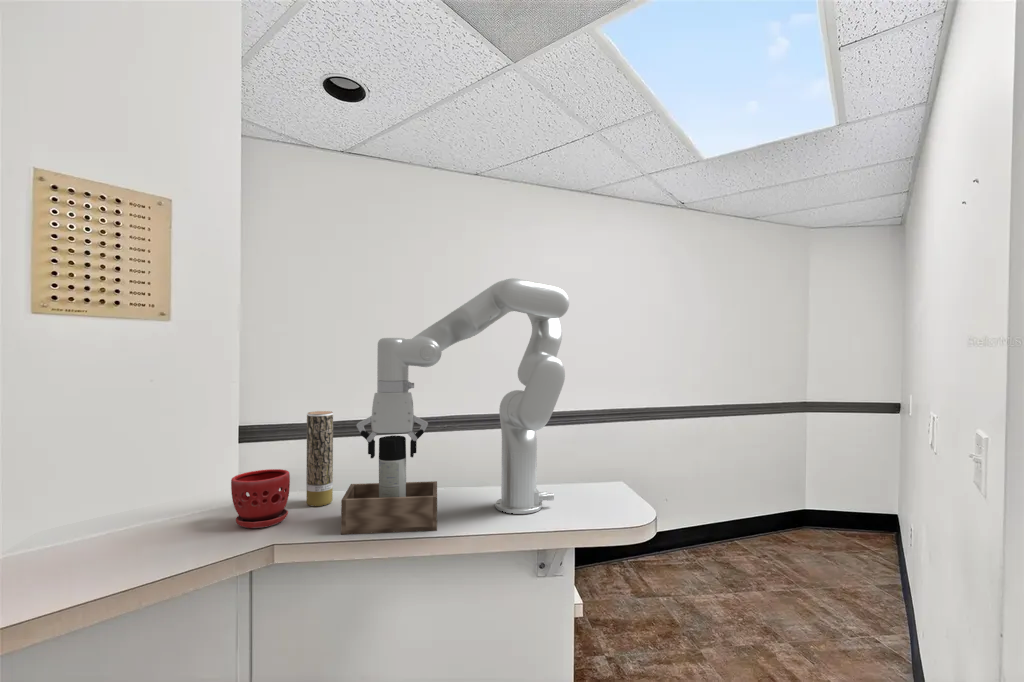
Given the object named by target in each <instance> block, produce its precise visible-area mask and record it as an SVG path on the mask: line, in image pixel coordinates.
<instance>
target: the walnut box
mask: <svg viewBox="0 0 1024 682" xmlns="http://www.w3.org/2000/svg"><path fill="white" fill-rule="evenodd" d="M340 504H341V505H340V506H341V509H340V511H341V512H340V515H341V516H340V517H341V518H340V521H341V522H340V535H346V536H347V535H361V534H362V535H363V534H364V535H365V534H385V533H386V534H387V533H389V534H390V533H406V532H407V533H412V532H435V531H438V481H436V480H433V481H406V497H384V498H379V482H373V483H372V482H370V483H367V482H366V483H351V484H349V486H348V488H347V490H346V492H345V494H344V495H343V497H342V498H341V502H340Z"/></svg>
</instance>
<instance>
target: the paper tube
mask: <svg viewBox="0 0 1024 682" xmlns="http://www.w3.org/2000/svg"><path fill="white" fill-rule="evenodd" d="M333 463H334V412H333V411H331V410H327V411H326V410H317V411H310V412H307V413H306V487H305V488H306V504H307V506H310V507H323V505H324V506H328V505H330V504H331V503H332V502H333V499H334V498H333V496H334V495H333V491H334V490H333V489H334V488H333V487H334V486H333V485H334V483H333V482H334V480H333V478H334V477H333V475H334V473H333V472H334V471H333V470H334V468H333V466H334V464H333ZM327 504H328V505H327Z"/></svg>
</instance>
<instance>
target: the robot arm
mask: <svg viewBox="0 0 1024 682" xmlns="http://www.w3.org/2000/svg"><path fill="white" fill-rule="evenodd" d="M569 307H570V299H569V296H568V294H567V293H566V291H565V290H564V289H562V288H560V287H558V286H556V285H550V284H546V283H540V282H536V281H530V280H526V279H521V278H515V277H514V278H513V277H511V278H508V279H507V278H506V279H504V280H500V281H497V282H495V283H493V284H491V285H490V286H489V287H487V288H486V289H484V290H483V291H481V292H480V293H478V294H477V295H475V296H473V298H470V299H469V300H468V301H467V302H465V303H464V304H462V305H461V306H459V307H458V308H456V309H454V310H453V311H450V312H449V313H448V314H447V315H446V316H444V317H442V318H441V319H440V320H438V321H436V322H435V323H433V324H431V325H430V326H428V327H427V328H425V329H424V330H422V331H420V332H419V333H418V334H416V335H414V336H413V337H412V338H403V337H382V338H380V339H379V340H378V342H377V353H376V354H377V358H376V359H377V360H376V361H377V367H376V368H377V373H376V374H377V375H376V376H377V382H376V385H377V387H376V388H377V389H376V392H375V393H374V395H373V399H372V407H371V416H368V417H367V418H365V419H363V420H361V421H359V422H358V423H356V428H357V430H358V431H359V434H360V435H361V436H362V437H363V438H364V440H365V441H366V442H367V455H370V459H374V458H375V456H376V440H375V437H377V435H402V434H407V435H408V436H409V437H410V438H411V439H410V447H409V448H410V451H409V453H410V454H409V455H410V458H414V454H417V441H418V439H420V437H422V436H423V435H424V433H425V431H426V429H427V427H428V426H429V422H428V421H426V420H424V419H422V418H420V417H418V416H416V415H414V413H415V412H414V401H413V400H414V399H413V396H412V395H413V394H412V392H409V390H411V389H414V388H415V382H410V381H409V366H411V367H419V368H430V367H433V366H435V365H436V364H437V363H438V362H439V361H440V360H441V358H442V353H443V351H445V350H446V349H448V348H449V347H451V346H453V345H455V344H457V343H459V342H461V341H465V340H468V339H471V338H473V337H475V336H477V335H478V334H481V332H483V331H484V330H486V329H488V327H491V325H492V324H494V323H496V321H498V320H500V319H501V318H503V317H505V316H506V315H507V314H509V313H511V312H516V313H517V312H518V313H523V314H526V315H527V318H528V319H529V320H530V324H531V335H530V337H529V341H528V343H527V345H526V349H525V351H524V354H523V356H522V359H521V360H520V363H519V366H518V368H517V379H518V380H519V382H520V383H521V384H522V385H523V386H525V387H524V390H519V389H516V390H511V391H508V393H506V394H505V395H504V396H503V397H502V398H501V400H500V404H499V408H498V409H499V413H498V414H499V421H500V429H501V430H500V432H501V484H500V485H501V496H500V497H501V498H499V499H497V500H496V501H495V508H496V509H497V511H500V512H502V511H503V512H502V513H505V512H506V513H507V514H511V513H513V514H512V515H526V514H533V513H536V512H538V511H540V510H542V508H543V503H542V502H543V501H554V500H555V494H554V492H553V493H552V492H550V493H549V492H548V491H539V490H538V489H537V470H538V468H537V464H538V463H537V458H538V457H537V456H538V455H537V453H538V452H537V450H538V444H537V443H538V440H537V439H538V438H537V431H539V430H541V429H542V428H544V427H545V426H546V425H547V424H548V422H549V421H550V419H551V418H552V415H553V412H554V410H555V407H556V404H557V402H558V400H559V397H560V394H561V392H562V390H563V386H564V383H565V379H566V371H565V366H564V364H563V362H562V361H561V360H560V358H558V357H557V356H558V353H559V350H560V346H561V344H562V340H563V328H562V325H561V321H560V318H562V317H563V316H564V315H565V314H566V313H567V312H568V310H569ZM415 423H417V424H418V425H420V428H419V430H417V432H415V431H414V426H415V425H414V424H415ZM368 424H370V425H371V426H370V427H371V433H369V432H368V431H367V430H366V429H365V426H366V425H368Z"/></svg>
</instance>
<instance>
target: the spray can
mask: <svg viewBox="0 0 1024 682" xmlns="http://www.w3.org/2000/svg"><path fill="white" fill-rule="evenodd" d="M406 444H407V439H406V437H405V436H403V435H396V434H391V435H387V436H386V435H385V436H381V437H380V438H378V483H379V498H384V497H406V482H407V447H406V446H407V445H406Z"/></svg>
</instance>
